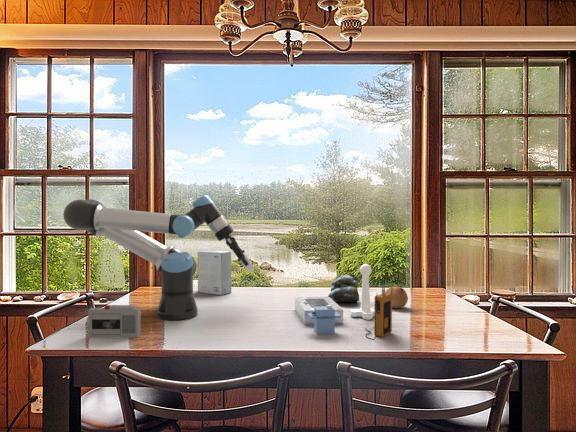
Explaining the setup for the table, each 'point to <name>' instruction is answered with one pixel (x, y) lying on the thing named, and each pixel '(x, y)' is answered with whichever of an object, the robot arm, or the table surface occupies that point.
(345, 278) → the dark grey rock
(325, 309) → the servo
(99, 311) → the cassette player
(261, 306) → the table surface
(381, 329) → the multimeter
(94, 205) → the robot arm
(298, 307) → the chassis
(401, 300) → the onion
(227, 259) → the hard drive box
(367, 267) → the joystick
